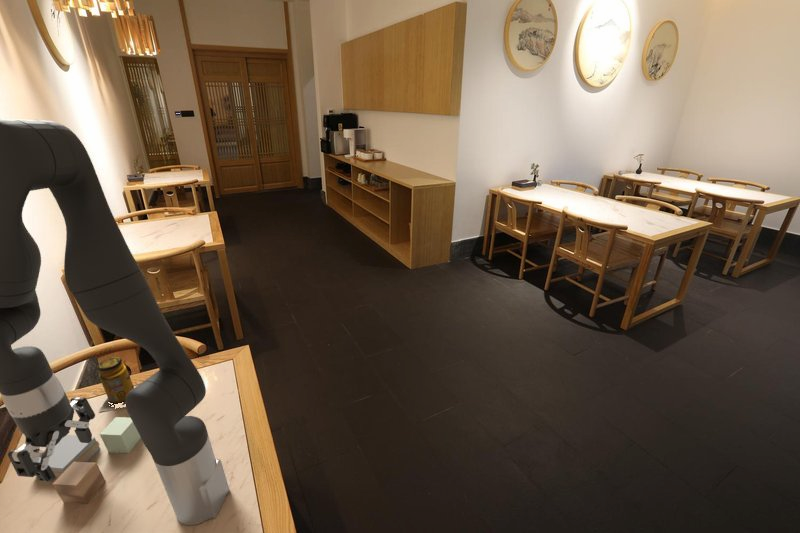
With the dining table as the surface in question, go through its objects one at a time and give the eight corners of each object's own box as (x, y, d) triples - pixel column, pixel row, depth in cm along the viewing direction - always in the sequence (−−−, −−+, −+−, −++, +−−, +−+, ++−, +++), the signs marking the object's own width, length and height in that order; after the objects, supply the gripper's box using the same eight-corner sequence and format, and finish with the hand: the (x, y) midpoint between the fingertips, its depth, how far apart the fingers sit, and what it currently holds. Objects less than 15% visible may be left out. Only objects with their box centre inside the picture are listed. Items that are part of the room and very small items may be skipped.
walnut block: (105, 481, 80) (96, 462, 78) (86, 504, 76) (76, 485, 73) (83, 480, 80) (73, 461, 78) (63, 503, 76) (52, 484, 73)
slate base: (101, 448, 88) (95, 437, 86) (69, 481, 80) (62, 469, 79) (70, 445, 89) (64, 433, 87) (35, 477, 81) (28, 465, 79)
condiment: (141, 385, 107) (128, 352, 102) (129, 407, 99) (115, 373, 94) (112, 390, 105) (98, 356, 100) (98, 412, 97) (82, 377, 92)
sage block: (143, 435, 91) (135, 417, 88) (128, 453, 86) (120, 435, 84) (123, 434, 91) (115, 417, 89) (108, 452, 87) (99, 434, 84)
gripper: (17, 433, 61) (54, 495, 68) (88, 374, 74) (113, 431, 81) (-25, 430, 61) (16, 492, 68) (53, 372, 74) (81, 429, 81)
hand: (69, 459), depth 74 cm, fingers open, 8 cm apart
